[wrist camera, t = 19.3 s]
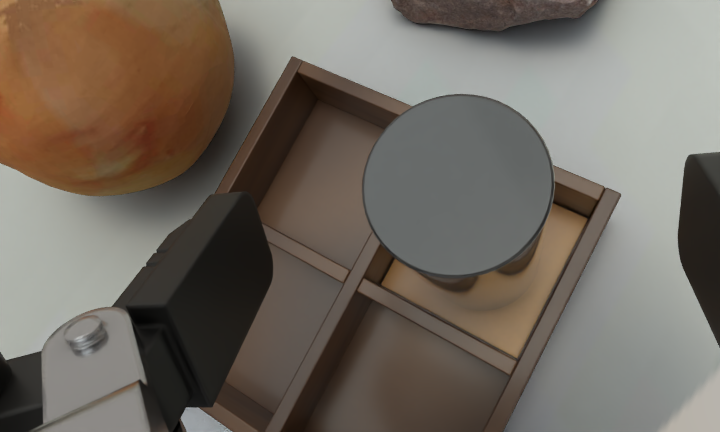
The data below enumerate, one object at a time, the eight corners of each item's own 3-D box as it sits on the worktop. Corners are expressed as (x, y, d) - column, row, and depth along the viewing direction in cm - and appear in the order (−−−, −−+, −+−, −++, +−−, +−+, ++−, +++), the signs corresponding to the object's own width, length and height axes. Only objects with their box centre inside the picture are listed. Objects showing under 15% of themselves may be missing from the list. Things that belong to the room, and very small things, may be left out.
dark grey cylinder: (560, 228, 20) (589, 135, 12) (507, 332, 20) (498, 314, 12) (455, 180, 22) (414, 66, 13) (404, 277, 21) (328, 225, 13)
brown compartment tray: (608, 215, 21) (622, 193, 18) (444, 541, 20) (432, 572, 17) (317, 90, 25) (291, 55, 22) (170, 355, 24) (122, 355, 21)
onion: (37, 142, 28) (-209, 33, 18) (170, -23, 28) (-6, -214, 19) (168, 269, 25) (-49, 214, 15) (318, 81, 25) (195, -87, 15)
